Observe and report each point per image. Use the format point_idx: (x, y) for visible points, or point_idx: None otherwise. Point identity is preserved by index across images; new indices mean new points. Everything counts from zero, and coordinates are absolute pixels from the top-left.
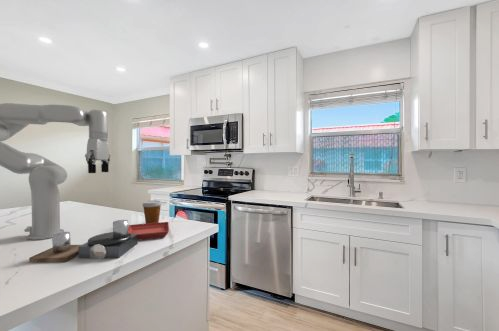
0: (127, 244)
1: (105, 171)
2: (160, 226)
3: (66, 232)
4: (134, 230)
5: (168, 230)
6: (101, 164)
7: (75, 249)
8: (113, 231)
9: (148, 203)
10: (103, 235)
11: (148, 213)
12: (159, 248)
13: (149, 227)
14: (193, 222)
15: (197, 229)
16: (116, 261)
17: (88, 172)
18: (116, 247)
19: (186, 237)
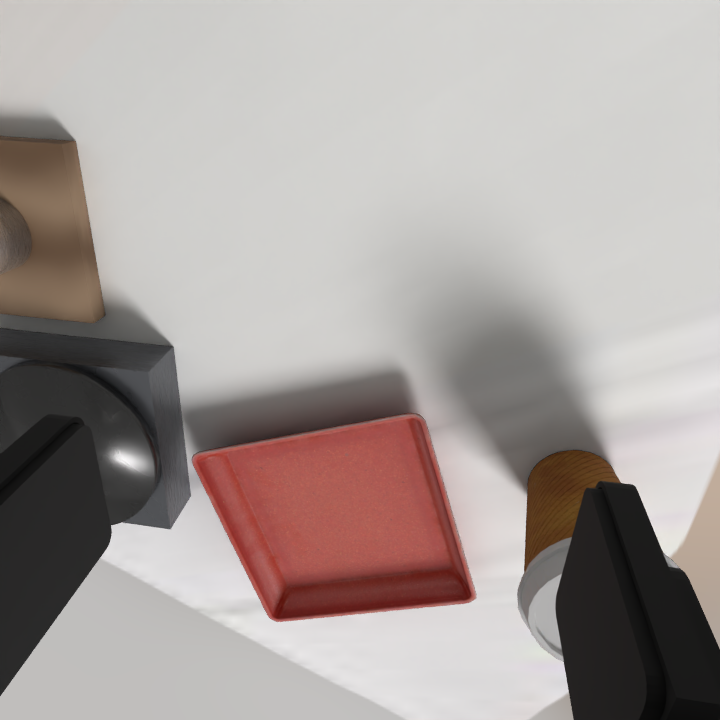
0: None
1: (566, 574)
2: (452, 551)
3: None
4: (398, 430)
5: (281, 619)
6: (671, 684)
7: (24, 291)
8: None
9: (529, 604)
10: (81, 411)
11: (527, 537)
12: (148, 578)
13: (437, 501)
14: (556, 677)
15: (405, 687)
16: None
17: (49, 420)
18: None
19: (283, 651)
